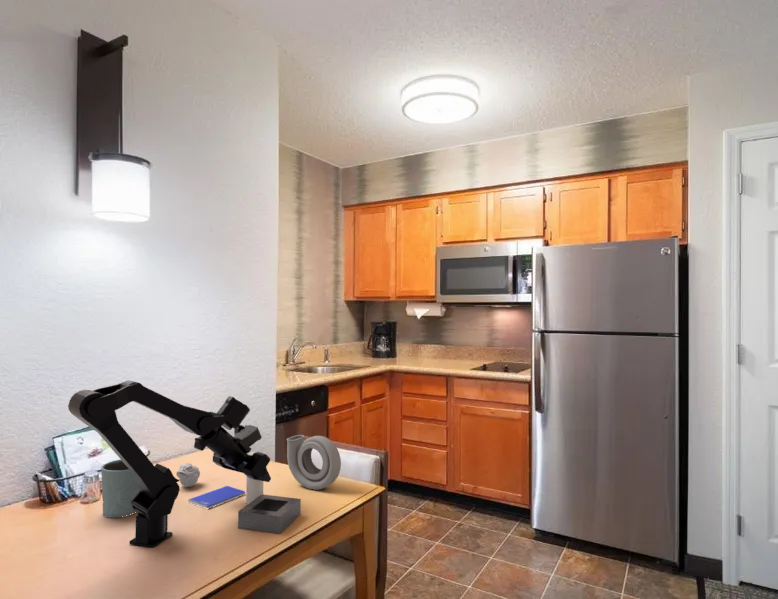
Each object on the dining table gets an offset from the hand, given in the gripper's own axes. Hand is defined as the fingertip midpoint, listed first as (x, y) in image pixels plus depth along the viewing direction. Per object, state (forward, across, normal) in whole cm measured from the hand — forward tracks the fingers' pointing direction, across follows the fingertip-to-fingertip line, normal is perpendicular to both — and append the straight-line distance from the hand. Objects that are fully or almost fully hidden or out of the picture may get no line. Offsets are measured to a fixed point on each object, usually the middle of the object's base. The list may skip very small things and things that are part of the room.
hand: (259, 476), depth 134 cm
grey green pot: (-14, +21, +24) cm, 34 cm away
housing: (+1, -12, +9) cm, 15 cm away
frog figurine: (0, +24, +10) cm, 26 cm away
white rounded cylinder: (+4, 0, +6) cm, 7 cm away
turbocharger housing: (+17, -3, -7) cm, 18 cm away
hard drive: (+1, +10, +10) cm, 14 cm away
